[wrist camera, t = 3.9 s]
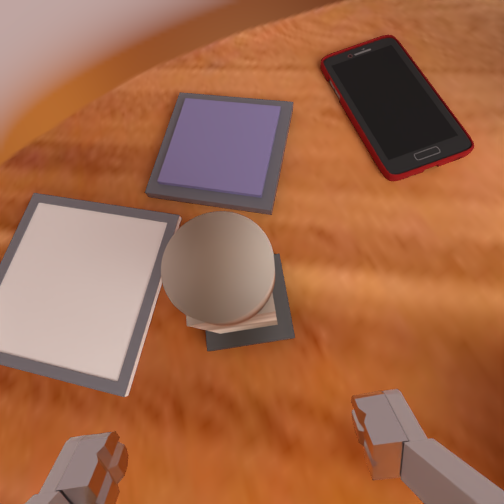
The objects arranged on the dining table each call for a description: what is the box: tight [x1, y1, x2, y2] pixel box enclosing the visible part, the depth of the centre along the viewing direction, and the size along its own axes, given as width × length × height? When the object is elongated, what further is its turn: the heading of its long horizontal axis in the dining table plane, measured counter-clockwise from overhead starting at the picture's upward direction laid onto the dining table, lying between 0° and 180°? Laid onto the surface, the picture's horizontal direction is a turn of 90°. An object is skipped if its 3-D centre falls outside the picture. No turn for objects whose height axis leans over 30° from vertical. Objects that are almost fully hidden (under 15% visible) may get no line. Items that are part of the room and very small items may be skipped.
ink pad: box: [145, 93, 293, 215], centre depth 26 cm, size 11×11×1 cm
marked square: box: [0, 193, 181, 397], centre depth 24 cm, size 14×14×1 cm
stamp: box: [161, 211, 295, 351], centre depth 17 cm, size 6×6×11 cm
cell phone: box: [321, 35, 474, 181], centre depth 26 cm, size 8×15×1 cm, turn 19°
